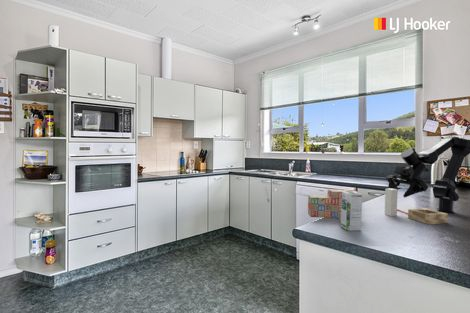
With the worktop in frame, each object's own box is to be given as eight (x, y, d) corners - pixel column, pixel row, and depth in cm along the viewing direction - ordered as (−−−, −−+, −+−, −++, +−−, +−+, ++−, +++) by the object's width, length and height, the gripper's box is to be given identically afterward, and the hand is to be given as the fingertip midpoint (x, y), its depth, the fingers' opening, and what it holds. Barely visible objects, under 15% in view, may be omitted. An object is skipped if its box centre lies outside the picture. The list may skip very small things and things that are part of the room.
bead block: (424, 216, 121) (425, 208, 121) (447, 222, 111) (447, 213, 111) (408, 218, 118) (408, 209, 118) (429, 224, 109) (429, 215, 108)
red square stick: (391, 208, 137) (391, 207, 137) (392, 208, 137) (393, 207, 137) (409, 215, 123) (409, 214, 123) (411, 215, 123) (411, 214, 123)
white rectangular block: (390, 213, 126) (391, 188, 125) (396, 215, 122) (397, 189, 122) (384, 214, 125) (385, 188, 124) (390, 216, 121) (391, 189, 121)
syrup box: (339, 226, 104) (340, 190, 104) (353, 226, 105) (354, 190, 104) (347, 231, 99) (348, 193, 98) (361, 230, 99) (363, 193, 99)
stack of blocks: (310, 217, 118) (311, 190, 117) (307, 214, 124) (308, 188, 123) (358, 219, 116) (359, 191, 116) (353, 215, 122) (354, 189, 122)
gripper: (389, 159, 133) (371, 180, 131) (424, 161, 115) (403, 186, 113) (400, 174, 136) (382, 195, 133) (436, 178, 118) (417, 203, 115)
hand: (395, 195), depth 124 cm, fingers open, 9 cm apart
